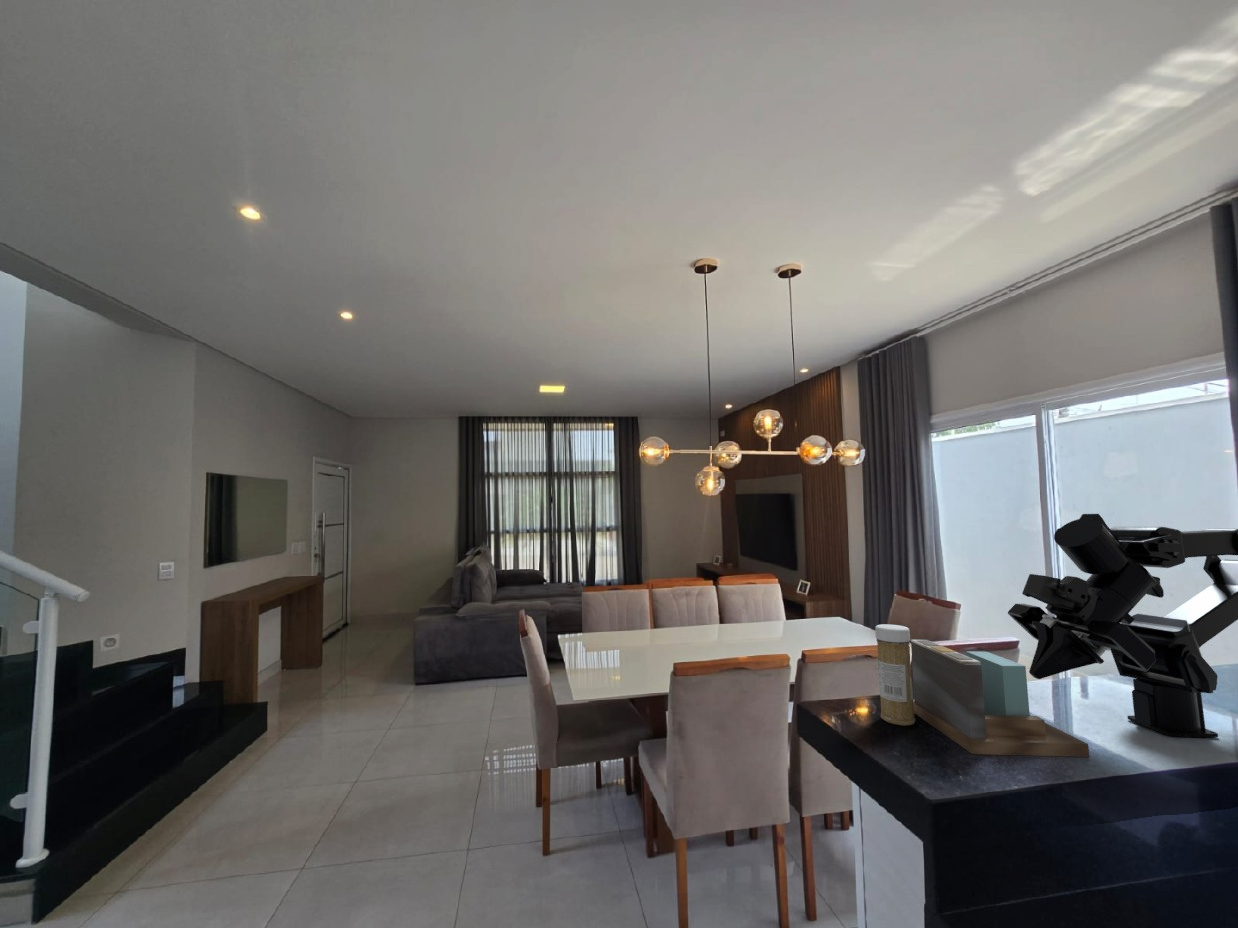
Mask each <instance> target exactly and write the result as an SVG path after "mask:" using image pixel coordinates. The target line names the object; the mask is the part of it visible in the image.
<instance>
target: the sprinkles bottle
mask: <svg viewBox="0 0 1238 928" xmlns="http://www.w3.org/2000/svg"><path fill="white" fill-rule="evenodd" d="M874 629H875V631H874V632H875V638H876V642H877V665H878V684H879V687H878V688H879V696H880V711H881V712H880V718H881V719H882V720H883V721H884V722H886V723H889V724H892V725H897V726H905V727H906V726H912V725H915V722H916V718H915V713H914V709H913V708H914V706H913V699H914V684H913V676H912V666H911V654H910V653H911V652H910V651H911V650H910V644H911V633H910V628H909V627H907V626H904V625H900V624H890V623H889V624H887V623H886V624H884V623H883V624H882V623H881V624H877V625H876V626H875V627H874Z"/></svg>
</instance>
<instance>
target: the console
mask: <svg viewBox="0 0 1238 928" xmlns="http://www.w3.org/2000/svg"><path fill="white" fill-rule="evenodd" d="M910 648H911V650H910V651H911V664H912V666H911V667H912V684H913V706H914V708H913V709H914V715H916V714H917V715H916V716H917V717H919V718H920V719H922V720H923V721H925V723H928V724H929V725H930V726H931V727H933V728H935V729H936V730H937V731H939V732H940V733H942V734H943V735H944V736H946V737H948V738H949V739H951V741H953V742H954V743H956V744H958V745H959V746H960V747H962V748H963V749H965V750H966V751H967V752H969V753H970V754H971V755H991V756H992V755H993V756H994V755H996V756H998V755H1002V756H1036V757H1038V756H1039V757H1043V756H1044V757H1081V758H1083V757H1085V758H1089V757H1090V751H1089V750H1090V749H1089V743H1087V742H1085V741H1083V740H1081V739H1080V738H1077V737H1075V736H1073V735H1071V734H1069V733H1067V732H1065V731H1063V730H1061V729H1059V728H1057V727H1055V726H1053V725H1051V724H1049V723H1047V722H1046V721H1045V719H1043V718H1041V717H1039V716H1037V715H1031V714H1030V716H1014V715H985V708H984V695H983V682H982V669H981V665H980V661H977V660H975V659H973V658H970V657H968V656H966V654H963V653H960V652H957V651H956V650H953V649H950V648H948V647H946V646H943V645H941V644H938V643H936V642H933V641H931V640H929V639H910Z"/></svg>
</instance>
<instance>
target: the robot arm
mask: <svg viewBox="0 0 1238 928" xmlns="http://www.w3.org/2000/svg"><path fill="white" fill-rule="evenodd" d="M1053 541H1054V542H1055V543H1056V545H1058V547H1059V548H1060V549H1061V550H1062V551H1063V552H1064V554H1065V555H1066V556H1067V557H1068V558H1069V559H1070V560H1071V561H1072V562H1073V564H1074V565H1075V566H1076V567H1077V568H1078V569H1079V570H1080V572H1083V573H1085V574H1089V575H1090V576H1089V577H1088V578H1087V579H1086V580H1085V579H1083V578H1080V577H1077V576H1072V575H1066V576H1064V577H1063V578H1062V579H1061V578H1058V577H1053V576H1049V575H1042V574H1034V573H1030V574H1028V577H1027V580H1026V582H1025V585H1024V587H1023V590H1022V592H1021V593H1022V595H1023V596H1026V597H1027V598H1030V597H1031V598H1033V599H1035V600H1038V601H1040V602H1042V603H1044V604H1046V606H1045V607H1044V608H1045V609H1046V610H1047V611H1048V612H1049V613H1050V614H1051V615H1049V614H1048V613H1047V612H1046V611H1045V610H1044V609H1042V608H1041V606H1036V605H1030V604H1027V603H1014V604H1013V606H1012V607H1011V608H1010V609H1009V610H1008V611H1007V615H1009V617H1011V618H1012V619H1013V620H1014V621H1015V622H1016V623H1017V624H1018V625H1019V626H1020V627H1021V628H1022V629H1023V630H1025V631H1026V632H1027V633H1028V634H1029V635H1030V637H1032V638H1033V639H1035V640H1036V641H1037V645H1036V649H1035V652H1034V655H1033V658H1032V662H1031V665H1030V668H1029V675H1030V676H1032V677H1033V678H1034V679H1036V680H1041V679H1044V678H1047V677H1052V676H1054V675H1058V674H1061V673H1064V672H1067V671H1071V670H1074V669H1078V668H1082V667H1086V666H1090V665H1095V664H1099V665H1102V664H1103V663H1104V662H1105V661H1104V659H1103V658H1102V655H1103V654H1104V653H1105V652H1106V651H1108V652H1110V653H1111V655H1112V657H1113V661H1114V663H1115V666H1116V669H1117V672H1118V674H1119V676H1121V677H1123V678H1124V677H1128V678H1132V679H1133V681H1132V683H1133V690H1131V697H1132V706H1133V715H1127V716H1126V717H1127V720H1129V721H1132V722H1134V723H1136V724H1138V725H1141V726H1144V727H1146V728H1149V729H1151V730H1152V731H1153V730H1154V731H1156V732H1158V733H1161V734H1163V735H1166V736H1170V737H1193V738H1196V737H1198V738H1199V737H1202V738H1218V737H1219V733H1218V732H1216V731H1213V730H1211V729H1208V728H1206V723H1205V722H1206V721H1205V715H1204V714H1205V713H1204V706H1203V698H1202V697H1203V696H1202V693H1204V694H1214V691H1216V690H1217V687H1218V686H1217V685H1218V674H1217V672H1215V670H1214V669H1213V668H1212V667H1211V666H1210V665H1209V663H1208V662H1207V661H1206V659H1204V657H1203V655H1202V652H1201V649H1200V648H1201V647H1202V646H1203V645H1204V644H1206V643H1207V642H1209V641H1210V640H1212V639H1213V638H1215V636H1217V635H1219V634H1220V633H1221V632H1222V631H1224V630H1225V629H1227V628H1228V627H1229V626H1232V625H1233V624H1234V623H1235V622H1236V621H1237V620H1238V559H1226V558H1225V559H1223V560H1222V559H1221V558H1220V557H1219V556H1238V528H1206V529H1202V530H1190V531H1189V530H1187V531H1186V530H1184V531H1181V530H1180V529H1175V528H1171V527H1165V526H1112V527H1109V526H1108V524H1107V523H1106V522H1105V520H1104V518H1103V517H1102V516H1101V515H1100V513H1082V515H1081V516H1080V517H1079V518H1078V519H1074V520H1072V521H1069V522H1067V523H1066V524H1064V525H1062V526H1061V527H1059V528H1057V529H1056V530H1055V532H1054V534H1053ZM1201 557H1206V558H1205V561H1204V565H1203V568H1202V569H1203V571H1204V572H1205V573H1206V574H1207V575H1208V576H1209V578H1211V580H1212V584H1211V585H1209V586H1208V587H1207V588H1205V589H1203V590H1202V591H1200V592H1199V593H1198V594H1196V595H1194V596H1193V597H1192V598H1190V599H1189V600H1187V601H1186V602H1184V603H1182V604H1181V605H1180V606H1179V607H1177V608H1175V609H1174V610H1172V611H1171V612H1169V613H1168V614H1166V615H1165V616H1159V615H1149V614H1143V613H1136V614H1134V615H1131V614H1130V612H1131V611H1132V610H1133V609H1134V608H1135V607H1136V606H1137V605H1138V604H1139V602H1140V601H1141V600H1142V599H1143V598H1144V597H1145V596H1146V595H1148V596H1152V597H1156V598H1160V599H1161V598H1164V594H1165V593H1164V588H1163V587H1162V585H1161V578H1160V577H1159V576H1155V575H1152V574H1151V573H1150V572H1149V571H1148V570H1147V569H1146V568H1160V569H1161V568H1162V569H1169V568H1173V567H1177V566H1179V565H1181V564H1182V565H1183V564H1184V563H1185V562H1186V559H1187V558H1201ZM1053 615H1054V616H1053Z"/></svg>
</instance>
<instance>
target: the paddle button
mask: <svg viewBox="0 0 1238 928" xmlns="http://www.w3.org/2000/svg"><path fill="white" fill-rule="evenodd" d="M965 656H968V657H970V658H973V659H975V660H977V661H980V665H981V669H982V682H983V695H984V708H985V715H1014V716H1030V715H1031V714H1030V704H1029V692H1028V691H1029V689H1028V681H1027V669H1026V668H1027V667H1026V665H1024V664H1021V663H1017V662H1016V661H1013V660H1010V659H1007V658H1005V657H1002V656H999V655H997V654H994V653H993V652H992V653H991V652H988V651H972V650H971V651H965Z"/></svg>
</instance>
